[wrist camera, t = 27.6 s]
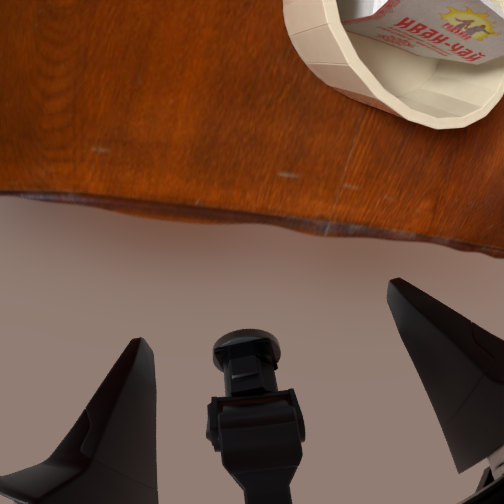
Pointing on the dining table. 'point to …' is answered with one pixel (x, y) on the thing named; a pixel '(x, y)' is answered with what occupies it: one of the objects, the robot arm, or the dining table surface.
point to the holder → (392, 70)
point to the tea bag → (430, 26)
